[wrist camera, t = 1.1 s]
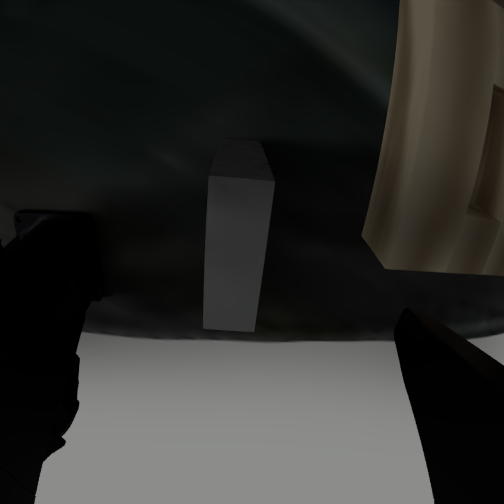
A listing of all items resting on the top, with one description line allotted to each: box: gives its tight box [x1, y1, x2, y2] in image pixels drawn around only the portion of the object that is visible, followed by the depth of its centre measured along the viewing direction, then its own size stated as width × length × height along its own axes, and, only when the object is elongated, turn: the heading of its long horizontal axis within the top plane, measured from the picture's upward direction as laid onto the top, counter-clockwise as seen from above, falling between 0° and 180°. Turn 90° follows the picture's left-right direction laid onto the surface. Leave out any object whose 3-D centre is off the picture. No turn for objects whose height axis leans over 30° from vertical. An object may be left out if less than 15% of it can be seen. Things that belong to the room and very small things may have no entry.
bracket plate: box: [203, 138, 275, 332], centre depth 14 cm, size 2×6×8 cm, turn 174°
